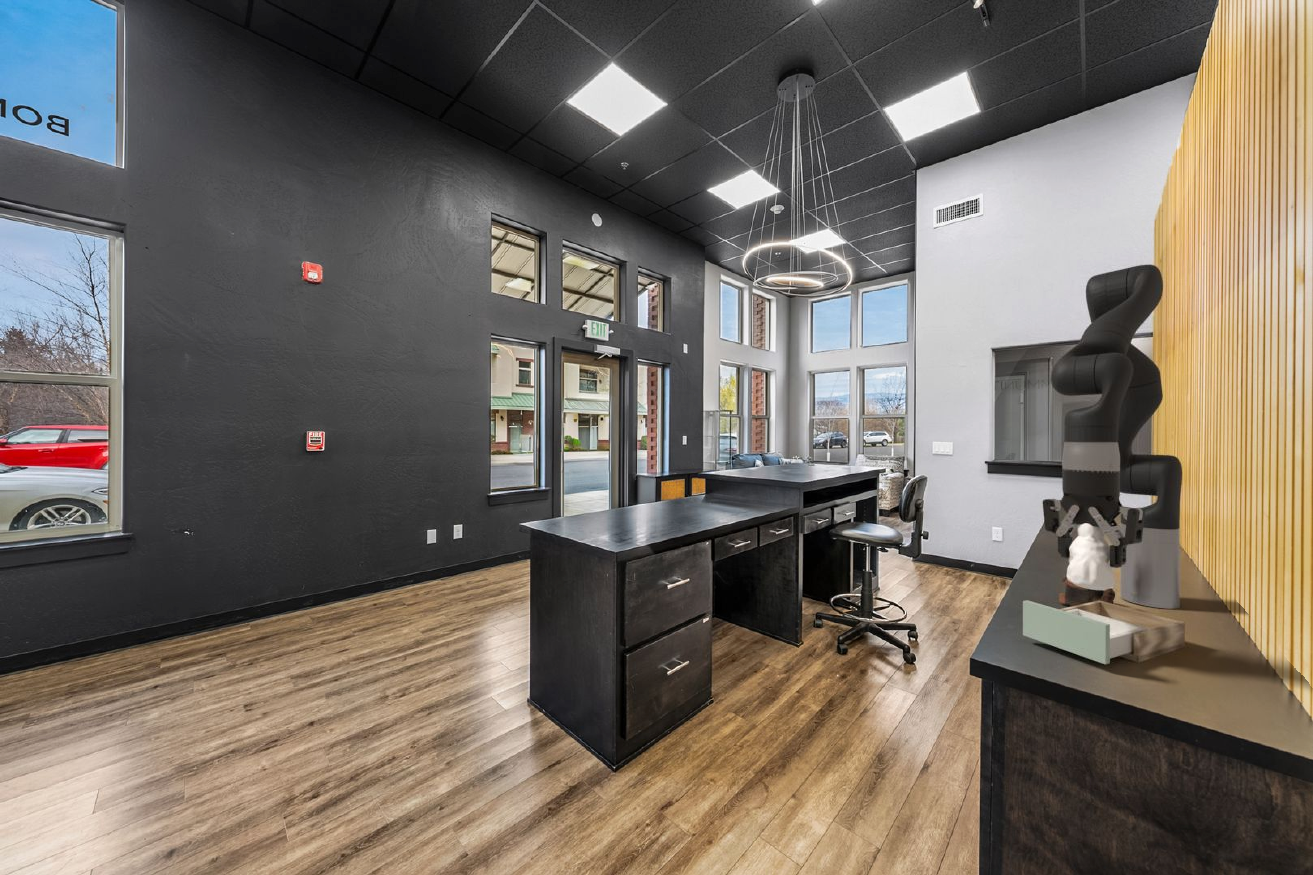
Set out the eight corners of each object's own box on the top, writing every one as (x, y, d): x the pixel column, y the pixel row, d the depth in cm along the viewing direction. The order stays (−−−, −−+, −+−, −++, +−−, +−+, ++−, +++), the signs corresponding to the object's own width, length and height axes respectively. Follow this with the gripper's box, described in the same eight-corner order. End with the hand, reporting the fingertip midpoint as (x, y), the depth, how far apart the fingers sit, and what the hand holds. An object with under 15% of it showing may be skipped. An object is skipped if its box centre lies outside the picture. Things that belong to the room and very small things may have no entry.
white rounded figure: (1065, 588, 83) (1064, 519, 83) (1068, 577, 89) (1068, 513, 89) (1115, 596, 78) (1115, 524, 78) (1115, 585, 84) (1115, 517, 84)
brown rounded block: (1044, 599, 109) (1055, 566, 111) (1085, 619, 108) (1096, 586, 109) (1087, 606, 98) (1100, 569, 99) (1134, 629, 96) (1146, 592, 98)
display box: (1138, 662, 78) (1138, 635, 78) (1053, 634, 90) (1053, 610, 90) (1184, 647, 84) (1184, 622, 84) (1099, 622, 95) (1099, 600, 95)
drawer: (1105, 664, 75) (1105, 625, 75) (1022, 635, 86) (1022, 601, 86) (1154, 649, 80) (1154, 612, 80) (1070, 623, 92) (1070, 591, 92)
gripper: (1156, 470, 78) (1156, 570, 78) (1056, 465, 92) (1056, 551, 92) (1131, 471, 76) (1131, 575, 76) (1031, 466, 89) (1031, 554, 89)
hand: (1090, 561), depth 84 cm, fingers closed on white rounded figure, 6 cm apart
